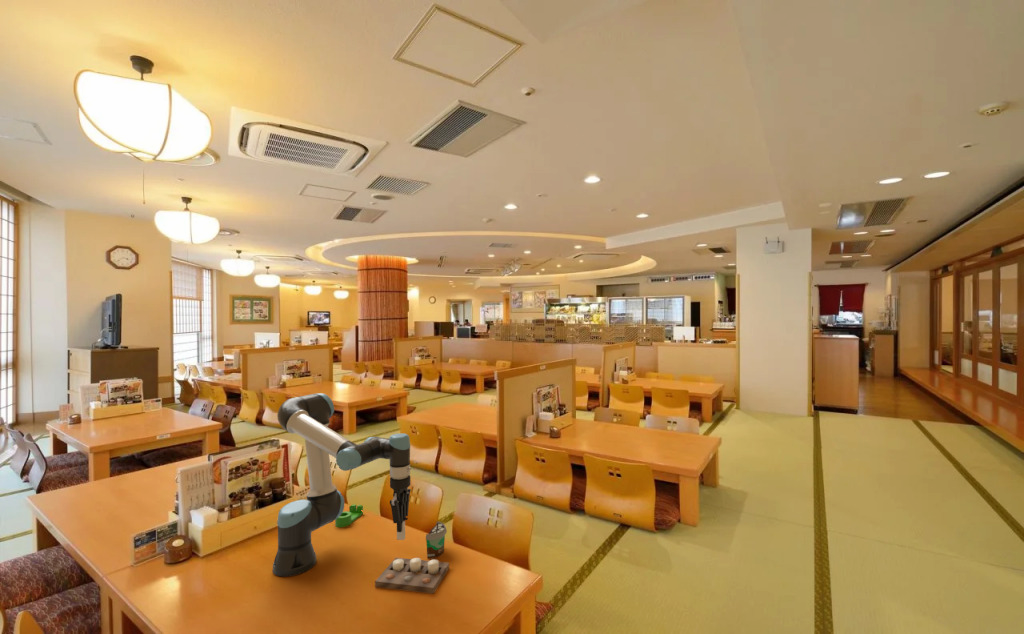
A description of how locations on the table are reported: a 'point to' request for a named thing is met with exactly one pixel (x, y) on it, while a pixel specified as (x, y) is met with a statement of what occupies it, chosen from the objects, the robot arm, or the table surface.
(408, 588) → the board
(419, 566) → the button mid
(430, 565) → the button right
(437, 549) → the food container
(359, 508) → the green ring bracket
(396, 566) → the button left
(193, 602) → the table surface
